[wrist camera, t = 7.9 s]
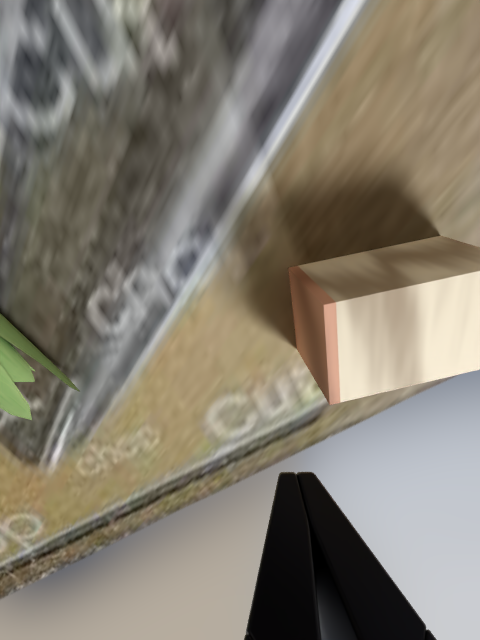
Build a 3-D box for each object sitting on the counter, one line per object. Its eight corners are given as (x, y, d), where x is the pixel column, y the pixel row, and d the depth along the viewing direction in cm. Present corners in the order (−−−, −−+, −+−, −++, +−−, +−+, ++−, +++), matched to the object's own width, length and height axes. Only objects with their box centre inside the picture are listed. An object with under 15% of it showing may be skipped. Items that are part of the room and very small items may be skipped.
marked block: (329, 404, 18) (502, 364, 19) (323, 304, 16) (524, 261, 16) (297, 349, 24) (432, 318, 24) (288, 267, 21) (440, 235, 22)
